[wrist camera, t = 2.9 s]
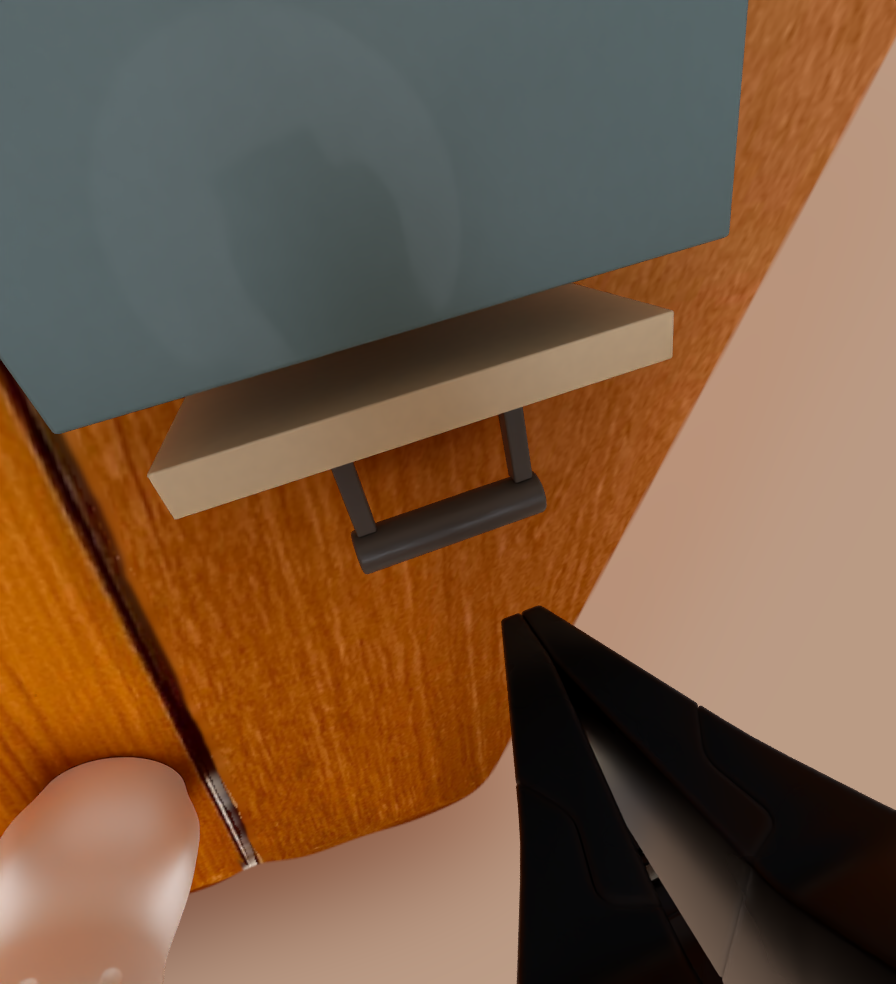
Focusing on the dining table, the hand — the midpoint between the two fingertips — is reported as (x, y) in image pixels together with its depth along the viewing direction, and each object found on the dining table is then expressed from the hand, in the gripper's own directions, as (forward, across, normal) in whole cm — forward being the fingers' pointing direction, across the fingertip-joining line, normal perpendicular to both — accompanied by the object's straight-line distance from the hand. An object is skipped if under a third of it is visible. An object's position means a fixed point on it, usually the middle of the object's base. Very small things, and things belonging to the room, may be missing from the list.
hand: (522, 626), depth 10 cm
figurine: (+11, +18, +13) cm, 25 cm away
